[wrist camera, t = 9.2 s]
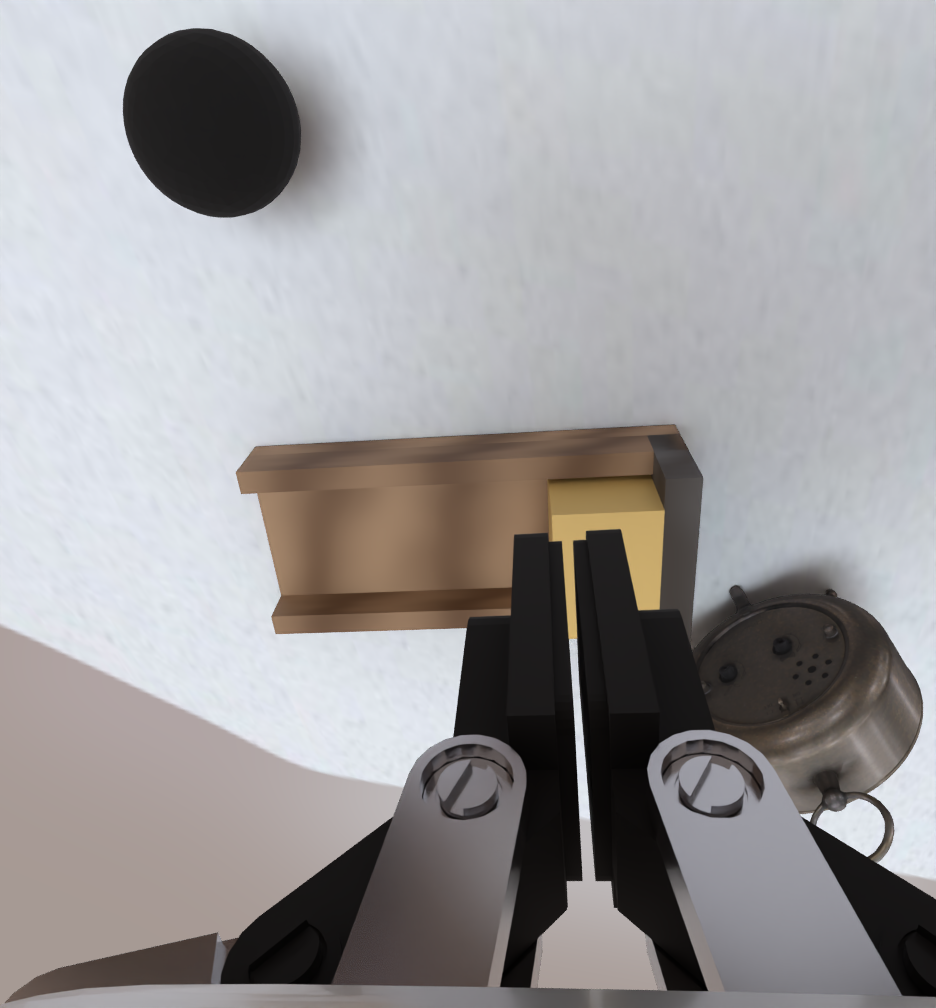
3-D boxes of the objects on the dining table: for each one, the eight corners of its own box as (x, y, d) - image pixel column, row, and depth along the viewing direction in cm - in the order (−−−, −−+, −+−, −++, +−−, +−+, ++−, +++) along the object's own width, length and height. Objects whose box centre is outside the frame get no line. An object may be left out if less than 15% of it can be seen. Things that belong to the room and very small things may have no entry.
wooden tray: (674, 424, 38) (703, 477, 32) (665, 587, 42) (688, 657, 37) (255, 446, 39) (214, 500, 34) (290, 600, 44) (259, 669, 38)
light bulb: (325, 214, 34) (260, 250, 25) (198, 175, 33) (85, 196, 24) (351, 72, 31) (289, 54, 22) (213, 26, 30) (93, -10, 22)
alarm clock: (687, 683, 45) (769, 946, 31) (642, 625, 44) (708, 876, 29) (859, 600, 42) (1040, 852, 28) (818, 533, 40) (990, 767, 26)
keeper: (646, 463, 37) (664, 510, 33) (641, 579, 40) (658, 636, 36) (546, 468, 38) (551, 515, 33) (550, 582, 41) (555, 639, 36)
